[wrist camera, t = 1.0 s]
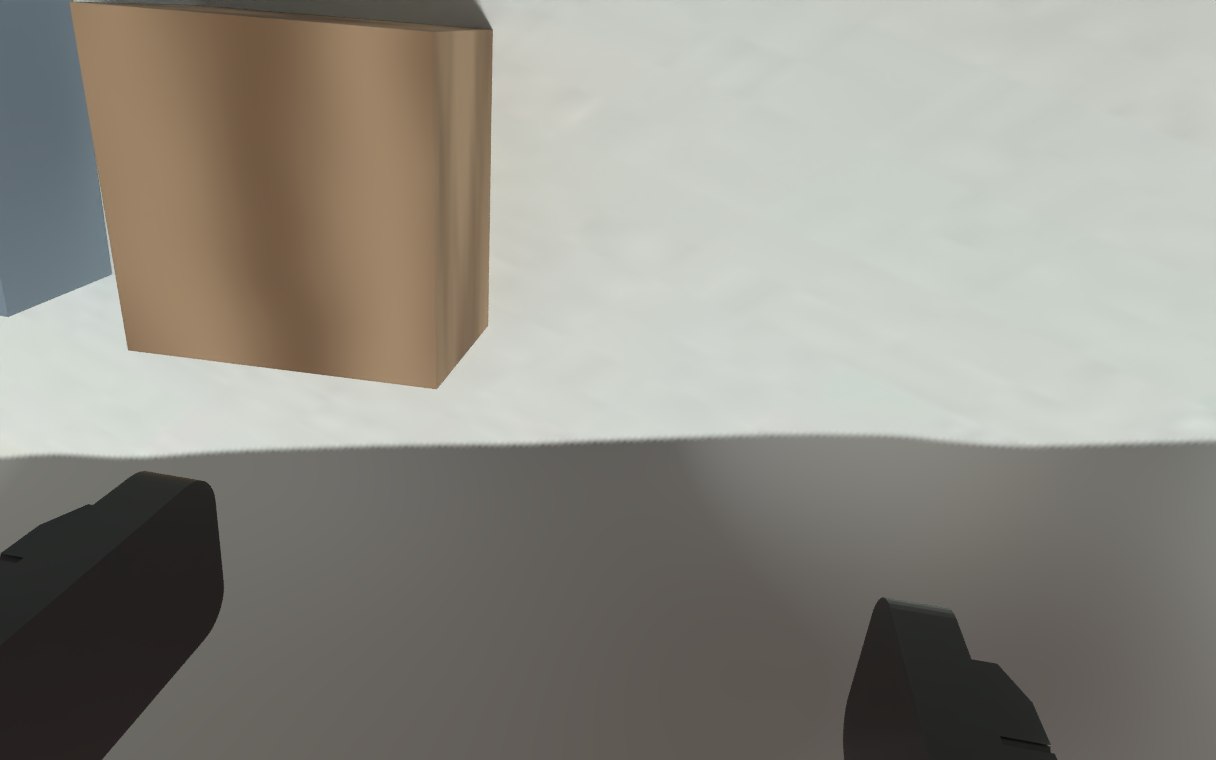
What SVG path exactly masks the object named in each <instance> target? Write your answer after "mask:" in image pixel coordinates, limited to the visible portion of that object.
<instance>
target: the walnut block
mask: <svg viewBox="0 0 1216 760" xmlns="http://www.w3.org/2000/svg"><path fill="white" fill-rule="evenodd" d="M69 3H70V9H71V15H72V20H73V26H74V32H75V38H76V44H77V50H78V56H79V62H80V68H81V74H82V80H83V86H84V92H85V97H86V103H87V109H88V115H89V121H90V127H91V133H92V139H93V145H94V151H95V157H96V163H97V169H98V175H99V180H100V186H101V192H102V198H103V204H104V210H105V216H106V222H107V228H108V234H109V240H110V246H111V252H112V257H113V263H114V269H115V275H116V281H117V287H118V293H119V299H120V305H121V311H122V317H123V323H124V329H125V334H126V340H127V346H128V350H130V351H138V352H146V353H154V354H162V355H170V356H178V357H186V358H193V359H201V360H209V361H217V362H225V363H233V364H241V365H249V366H257V367H265V368H273V369H281V370H289V371H297V372H305V373H313V374H321V375H328V376H336V377H344V378H352V379H360V380H368V381H376V382H384V383H392V384H400V385H408V386H416V387H424V388H432V389H437V388H438V387H439V386H440V385H441V383H442V382H443V381H444V380H445V378H446V377H447V376H448V375H449V373H450V372H451V371H452V370H453V368H454V367H455V366H456V365H457V364H458V362H459V361H460V360H461V359H462V357H463V356H464V355H465V354H466V352H467V351H468V350H469V349H470V347H471V346H472V345H473V344H474V343H475V341H476V340H477V339H478V338H479V336H480V335H481V334H482V333H483V331H484V330H485V329H486V328H487V326H488V297H489V232H490V168H491V104H492V39H493V30H491V29H479V28H466V27H454V26H442V25H430V24H418V23H406V22H394V21H381V20H369V19H357V18H345V17H333V16H321V15H309V14H296V13H284V12H272V11H260V10H248V9H236V8H224V7H211V6H199V5H170V4H135V3H99V2H69Z"/></svg>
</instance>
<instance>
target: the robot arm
mask: <svg viewBox="0 0 1216 760" xmlns="http://www.w3.org/2000/svg"><path fill="white" fill-rule="evenodd" d="M223 593H224V580H223V570H222V561H221V551H220V541H219V531H218V521H217V511H216V502H215V495H214V492H213V490H212V488H211V486H210V485H209V484H208V483H207V482H205V481H200V480H194V479H188V478H182V477H176V476H171V475H165V474H159V473H153V472H146V471H143V472H138V473H136V474H134V475H133V476H131V477H129V478H128V479H127V480H125V481H124V482H123V483H121V484H120V485H119V486H118V487H116V488H115V489H114V490H112V491H111V492H110V493H108V494H107V495H106V496H104V497H103V498H102V499H100V500H99V501H98V502H96V503H95V504H94V505H89V504H88V505H85V506H83V507H81V508H79V509H76V510H74V511H72V512H69V513H67V514H65V515H62V516H60V517H58V518H55V519H53V520H50V521H48V522H46V523H43V524H41V525H39V526H38V527H36V528H35V529H34V530H32V531H31V532H29V533H28V534H27V535H25V536H24V537H23V538H21V539H20V540H18V541H17V542H16V543H14V544H13V545H12V546H10V547H9V548H8V549H6V550H5V551H3V552H2V553H1V556H0V760H102V759H103V758H104V757H105V755H106V754H107V753H108V752H109V751H110V750H111V748H112V747H113V746H114V745H115V744H116V743H117V741H118V740H119V739H120V738H121V737H122V736H123V734H124V733H125V732H126V731H127V730H128V728H129V727H130V726H131V725H132V724H133V723H134V722H135V720H136V719H137V718H138V717H139V716H140V714H141V713H142V712H143V711H144V710H145V709H146V707H147V706H148V705H149V704H150V703H151V701H152V700H153V699H154V698H155V697H156V695H158V693H159V692H160V691H161V690H162V689H163V688H164V686H165V685H166V684H167V683H168V682H169V680H170V679H171V678H172V677H173V676H174V675H175V673H176V672H177V671H178V670H179V669H180V667H181V666H182V665H183V664H184V663H185V662H186V661H187V659H188V658H189V657H190V656H191V655H192V654H193V652H194V651H195V650H196V649H197V648H198V646H199V645H200V644H201V643H202V642H203V641H204V639H205V638H206V637H207V636H208V634H209V633H210V631H211V630H212V628H213V626H214V624H215V622H216V619H217V617H218V614H219V611H220V608H221V604H222V600H223ZM1050 747H1051V744H1050V742H1049V740H1048V737H1047V735H1046V733H1045V731H1044V728H1043V726H1042V724H1041V721H1040V719H1039V717H1038V715H1037V712H1036V710H1035V708H1034V705H1033V703H1032V702H1031V701H1030V700H1029V699H1028V697H1027V696H1026V695H1025V694H1024V693H1023V692H1022V691H1021V690H1020V689H1019V687H1018V686H1017V685H1016V684H1015V683H1014V682H1013V681H1012V680H1011V679H1010V678H1009V676H1008V675H1007V674H1006V673H1005V672H1004V671H1003V670H1002V669H1001V668H1000V666H999V665H998V664H995V663H989V662H983V661H977V660H972V659H971V657H970V654H969V652H968V649H967V646H966V644H965V641H964V638H963V635H962V633H961V630H960V627H959V625H958V622H957V619H956V617H955V615H954V613H953V612H952V611H951V610H950V609H948V608H942V607H937V606H931V605H925V604H919V603H913V602H907V601H901V600H895V599H889V598H883V597H882V598H880V599H879V600H878V602H877V603H876V605H875V607H874V610H873V613H872V616H871V620H870V623H869V627H868V630H867V633H866V637H865V641H864V644H863V647H862V651H861V655H860V658H859V661H858V665H857V668H856V672H855V675H854V678H853V682H852V685H851V689H850V692H849V696H848V700H847V705H846V710H845V717H844V729H843V751H844V760H1057V758H1056V756H1055V754H1053V753H1051V752H1050Z"/></svg>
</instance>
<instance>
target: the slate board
mask: <svg viewBox="0 0 1216 760" xmlns="http://www.w3.org/2000/svg"><path fill="white" fill-rule="evenodd" d="M69 2H73V0H0V316H6V317H9V316H12V315H14V314H16V313H19V312H21V311H24V310H26V309H29V308H31V307H34V306H36V305H38V304H41V303H43V302H46V301H48V300H51V299H53V298H55V297H58V296H60V295H63V294H65V293H68V292H70V291H73V290H75V289H77V288H80V287H82V286H85V285H87V284H90V283H92V282H94V281H97V280H99V279H102V278H104V277H107V276H109V275H111V274H112V273H111V266H110V259H109V252H108V244H107V237H106V230H105V223H104V216H103V209H102V202H101V195H100V188H99V181H98V174H97V167H96V159H95V152H94V145H93V139H92V133H91V127H90V121H89V115H88V109H87V103H86V97H85V92H84V86H83V80H82V74H81V68H80V62H79V56H78V50H77V44H76V38H75V32H74V26H73V20H72V15H71V9H70V3H69Z"/></svg>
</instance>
